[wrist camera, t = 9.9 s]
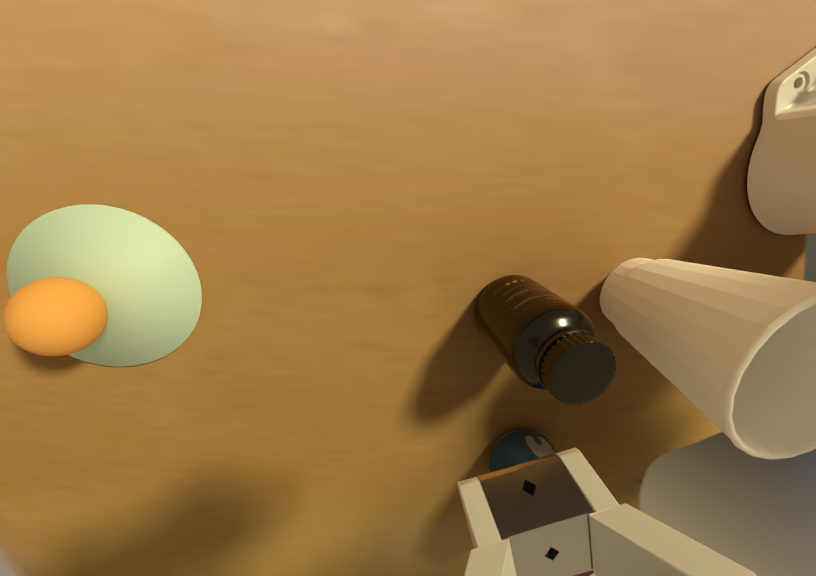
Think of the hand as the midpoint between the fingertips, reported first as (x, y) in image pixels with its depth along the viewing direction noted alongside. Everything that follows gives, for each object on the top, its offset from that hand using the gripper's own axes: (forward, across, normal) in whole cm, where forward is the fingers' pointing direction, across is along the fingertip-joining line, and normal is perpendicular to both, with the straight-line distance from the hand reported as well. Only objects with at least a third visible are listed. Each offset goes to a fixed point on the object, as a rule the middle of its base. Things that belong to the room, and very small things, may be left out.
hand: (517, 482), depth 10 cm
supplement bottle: (+26, -8, +10) cm, 29 cm away
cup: (+26, -21, +12) cm, 35 cm away
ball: (+22, +25, -2) cm, 33 cm away
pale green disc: (+24, +22, -2) cm, 33 cm away
